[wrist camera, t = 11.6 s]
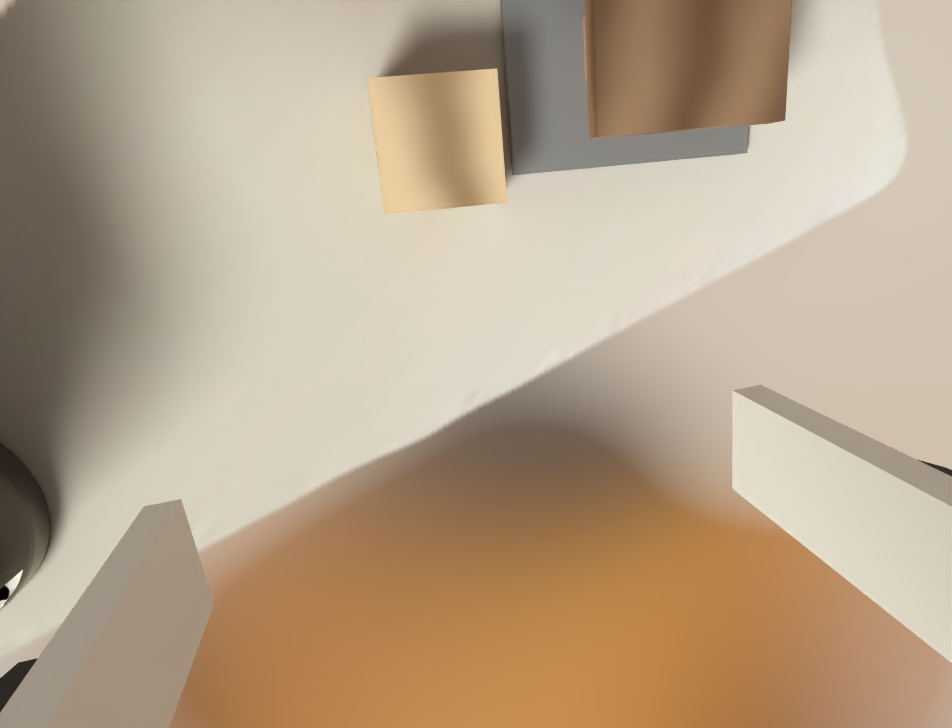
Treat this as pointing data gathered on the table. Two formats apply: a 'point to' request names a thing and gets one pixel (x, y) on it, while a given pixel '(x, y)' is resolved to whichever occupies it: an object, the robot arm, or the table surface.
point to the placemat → (576, 99)
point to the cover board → (685, 64)
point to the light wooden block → (438, 140)
